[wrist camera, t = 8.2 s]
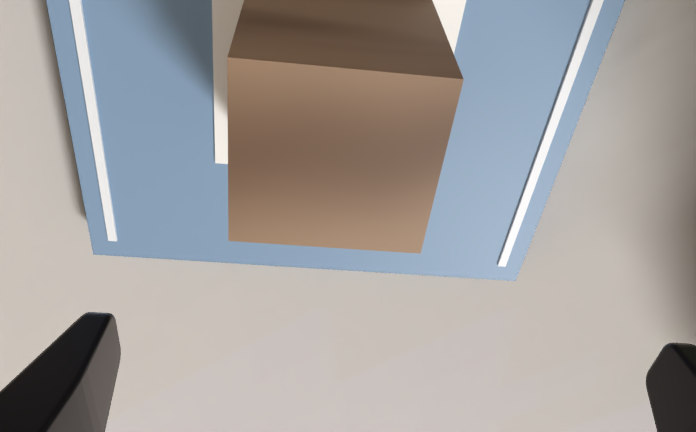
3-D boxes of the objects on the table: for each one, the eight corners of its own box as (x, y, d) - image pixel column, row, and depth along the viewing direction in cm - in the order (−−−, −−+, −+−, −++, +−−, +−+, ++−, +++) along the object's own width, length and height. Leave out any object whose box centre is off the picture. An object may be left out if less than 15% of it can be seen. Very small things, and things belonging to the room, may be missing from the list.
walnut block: (401, 151, 20) (420, 253, 16) (247, 138, 20) (228, 241, 16) (431, -1, 17) (463, 79, 13) (250, -21, 17) (227, 56, 13)
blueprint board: (508, 260, 25) (516, 282, 24) (102, 233, 24) (92, 256, 23) (684, -217, 15) (709, -213, 14) (10, -315, 14) (-15, -318, 13)
